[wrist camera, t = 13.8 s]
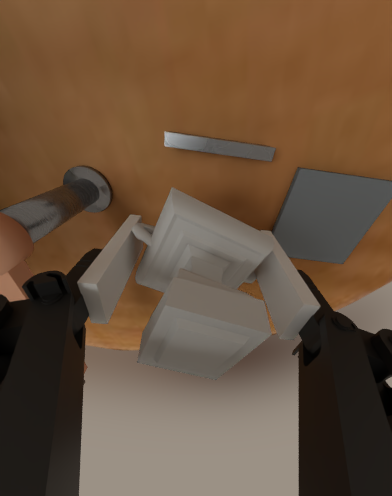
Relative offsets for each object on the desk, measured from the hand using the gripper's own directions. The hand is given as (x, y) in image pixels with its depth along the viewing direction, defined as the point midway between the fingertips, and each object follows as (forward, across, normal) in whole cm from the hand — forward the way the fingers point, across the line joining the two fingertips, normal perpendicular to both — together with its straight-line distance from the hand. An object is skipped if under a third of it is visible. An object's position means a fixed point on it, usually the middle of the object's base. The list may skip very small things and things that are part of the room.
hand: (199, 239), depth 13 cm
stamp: (+1, 0, 0) cm, 1 cm away
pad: (+7, +14, 0) cm, 16 cm away
